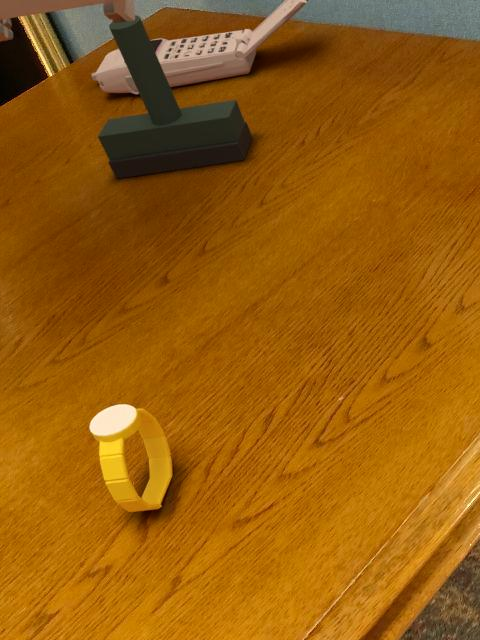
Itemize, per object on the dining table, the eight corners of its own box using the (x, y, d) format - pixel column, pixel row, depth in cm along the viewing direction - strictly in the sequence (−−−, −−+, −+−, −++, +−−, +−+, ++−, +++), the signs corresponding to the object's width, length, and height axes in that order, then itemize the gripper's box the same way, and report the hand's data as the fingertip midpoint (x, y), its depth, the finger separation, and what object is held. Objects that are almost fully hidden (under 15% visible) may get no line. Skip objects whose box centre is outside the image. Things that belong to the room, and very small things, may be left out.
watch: (167, 527, 59) (120, 455, 55) (123, 531, 59) (73, 461, 55) (190, 455, 63) (148, 383, 58) (148, 460, 63) (103, 389, 59)
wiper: (116, 179, 90) (47, 43, 81) (128, 156, 92) (63, 23, 83) (244, 160, 88) (188, 20, 79) (252, 138, 91) (200, 0, 82)
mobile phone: (306, 1, 95) (55, 45, 97) (325, 64, 99) (84, 105, 101) (313, -22, 99) (72, 20, 101) (330, 39, 103) (99, 79, 105)
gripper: (86, -168, 57) (194, -46, 71) (-235, -110, 60) (-70, -3, 73) (100, -54, 58) (205, 45, 72) (-219, -1, 60) (-58, 85, 74)
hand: (63, 21), depth 73 cm, fingers open, 8 cm apart
